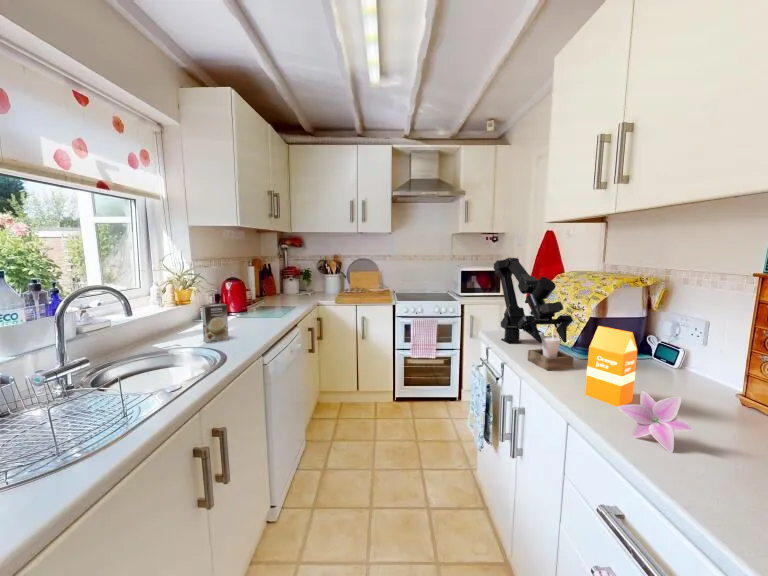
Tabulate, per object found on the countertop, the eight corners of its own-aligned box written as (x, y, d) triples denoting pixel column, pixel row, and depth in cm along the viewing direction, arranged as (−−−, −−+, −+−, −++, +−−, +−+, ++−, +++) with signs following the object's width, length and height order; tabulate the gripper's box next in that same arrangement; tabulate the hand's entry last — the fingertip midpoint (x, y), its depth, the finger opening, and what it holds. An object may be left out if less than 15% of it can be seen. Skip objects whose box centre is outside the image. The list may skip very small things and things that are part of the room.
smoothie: (559, 368, 116) (561, 329, 114) (538, 365, 119) (541, 327, 117) (559, 362, 122) (562, 325, 120) (540, 360, 125) (542, 323, 123)
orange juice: (618, 407, 88) (625, 334, 85) (584, 394, 95) (590, 327, 93) (632, 400, 92) (640, 330, 89) (598, 389, 99) (604, 323, 97)
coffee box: (206, 343, 144) (204, 307, 142) (203, 340, 149) (201, 305, 147) (229, 339, 150) (227, 304, 148) (225, 336, 155) (223, 302, 153)
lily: (609, 426, 81) (610, 400, 76) (648, 404, 82) (652, 378, 77) (658, 469, 70) (664, 443, 66) (702, 444, 72) (711, 417, 67)
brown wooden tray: (527, 360, 124) (528, 350, 124) (551, 358, 126) (552, 348, 126) (547, 370, 114) (547, 359, 113) (572, 368, 116) (573, 357, 116)
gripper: (523, 294, 120) (538, 331, 111) (571, 293, 122) (590, 330, 112) (511, 311, 129) (524, 347, 119) (557, 310, 131) (573, 345, 121)
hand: (553, 342), depth 118 cm, fingers open, 9 cm apart
